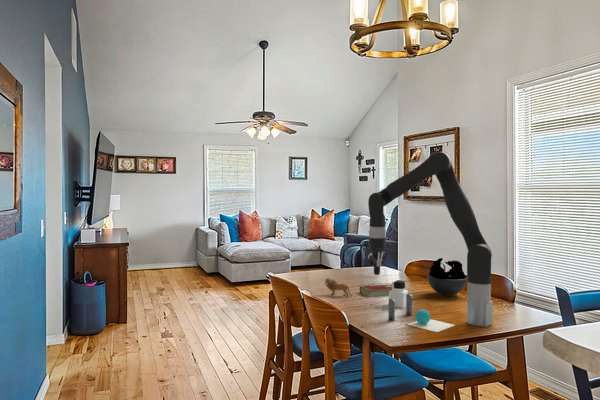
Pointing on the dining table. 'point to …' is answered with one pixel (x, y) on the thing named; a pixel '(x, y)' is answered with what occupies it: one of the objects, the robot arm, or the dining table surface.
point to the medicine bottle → (398, 293)
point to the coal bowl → (447, 278)
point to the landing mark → (432, 325)
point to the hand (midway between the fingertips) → (376, 274)
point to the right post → (409, 304)
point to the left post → (391, 310)
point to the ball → (422, 316)
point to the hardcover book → (376, 290)
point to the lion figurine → (336, 286)
